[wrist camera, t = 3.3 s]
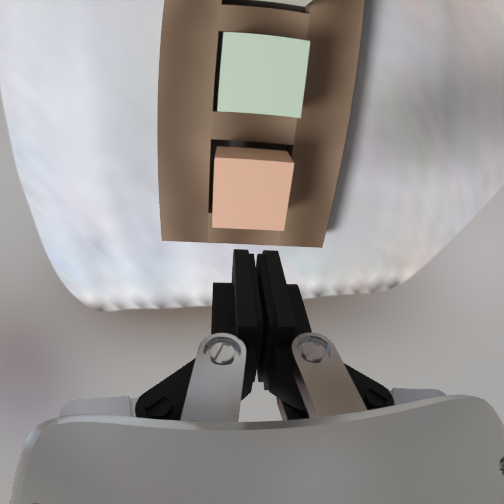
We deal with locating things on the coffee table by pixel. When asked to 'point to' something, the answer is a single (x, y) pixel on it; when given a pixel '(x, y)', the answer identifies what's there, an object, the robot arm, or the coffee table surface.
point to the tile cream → (291, 2)
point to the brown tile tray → (249, 124)
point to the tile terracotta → (251, 188)
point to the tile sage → (262, 74)
